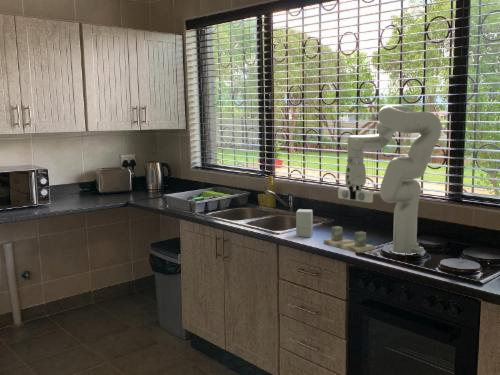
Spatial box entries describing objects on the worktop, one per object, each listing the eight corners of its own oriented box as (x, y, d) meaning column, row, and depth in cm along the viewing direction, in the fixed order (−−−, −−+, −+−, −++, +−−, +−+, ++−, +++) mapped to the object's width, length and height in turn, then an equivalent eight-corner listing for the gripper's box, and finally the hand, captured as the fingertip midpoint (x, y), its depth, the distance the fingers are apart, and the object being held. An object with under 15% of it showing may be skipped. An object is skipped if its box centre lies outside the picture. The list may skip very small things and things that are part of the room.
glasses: (381, 200, 238) (381, 190, 237) (368, 202, 233) (368, 192, 232) (349, 196, 254) (349, 187, 254) (337, 198, 249) (337, 188, 248)
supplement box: (313, 234, 249) (313, 209, 248) (310, 237, 242) (311, 211, 241) (298, 233, 251) (298, 208, 250) (295, 236, 244) (295, 211, 243)
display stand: (373, 249, 219) (374, 232, 218) (358, 252, 214) (358, 235, 213) (339, 240, 236) (339, 224, 235) (323, 243, 230) (323, 227, 229)
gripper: (349, 162, 232) (349, 201, 234) (372, 160, 241) (372, 198, 243) (337, 161, 238) (337, 199, 240) (360, 159, 247) (360, 196, 249)
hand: (355, 198), depth 242 cm, fingers closed on glasses, 2 cm apart
